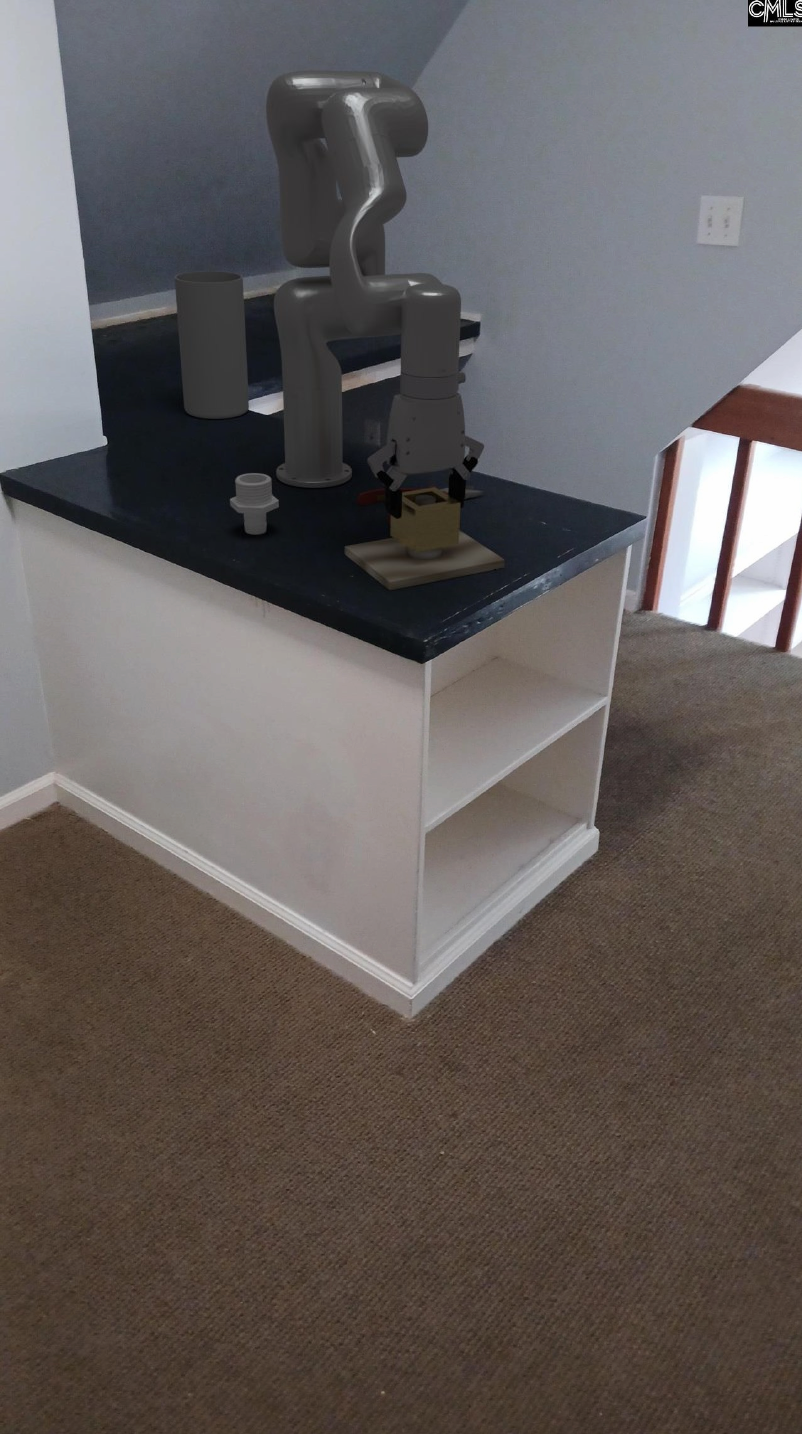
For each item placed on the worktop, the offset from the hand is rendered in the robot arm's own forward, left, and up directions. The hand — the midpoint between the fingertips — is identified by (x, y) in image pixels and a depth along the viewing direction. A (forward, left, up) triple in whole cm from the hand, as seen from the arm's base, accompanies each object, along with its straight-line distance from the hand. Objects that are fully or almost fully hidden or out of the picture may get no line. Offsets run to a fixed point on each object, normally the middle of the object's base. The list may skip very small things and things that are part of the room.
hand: (425, 510), depth 161 cm
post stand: (0, 0, -7) cm, 7 cm away
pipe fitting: (-21, -17, -8) cm, 28 cm away
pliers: (-19, +11, -8) cm, 23 cm away
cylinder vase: (-84, 0, -8) cm, 85 cm away
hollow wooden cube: (0, 0, -4) cm, 4 cm away
